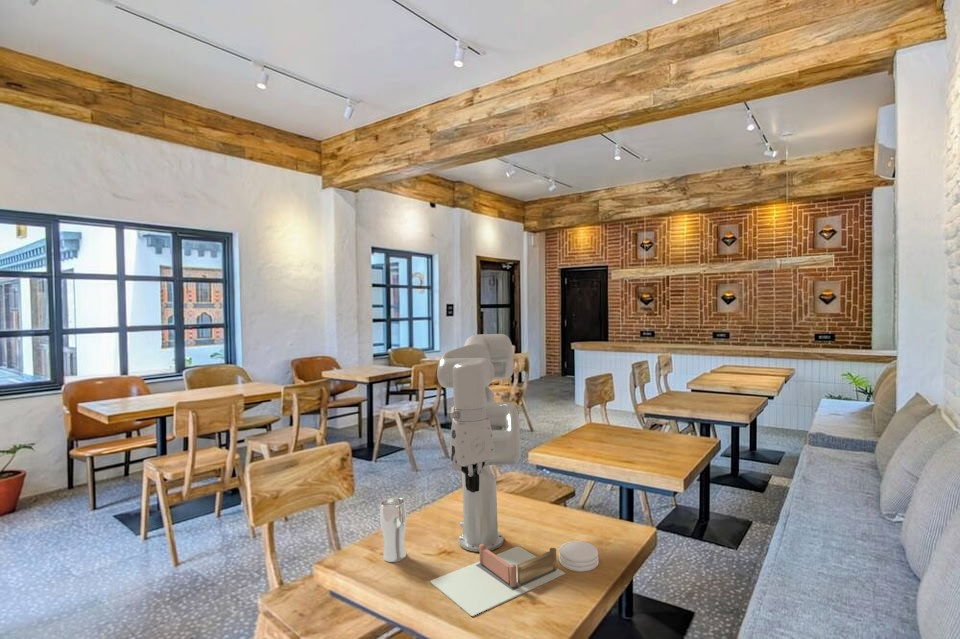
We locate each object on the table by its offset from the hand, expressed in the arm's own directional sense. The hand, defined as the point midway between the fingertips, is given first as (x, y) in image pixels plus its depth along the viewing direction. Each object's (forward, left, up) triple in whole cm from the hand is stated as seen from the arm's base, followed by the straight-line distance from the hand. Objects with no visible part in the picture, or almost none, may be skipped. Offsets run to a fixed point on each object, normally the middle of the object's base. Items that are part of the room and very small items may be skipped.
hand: (472, 490), depth 124 cm
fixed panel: (+7, +13, -23) cm, 27 cm away
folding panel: (+1, +6, -22) cm, 23 cm away
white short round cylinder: (+8, +27, -23) cm, 37 cm away
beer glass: (-25, -9, -23) cm, 35 cm away
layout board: (+1, +6, -23) cm, 24 cm away
